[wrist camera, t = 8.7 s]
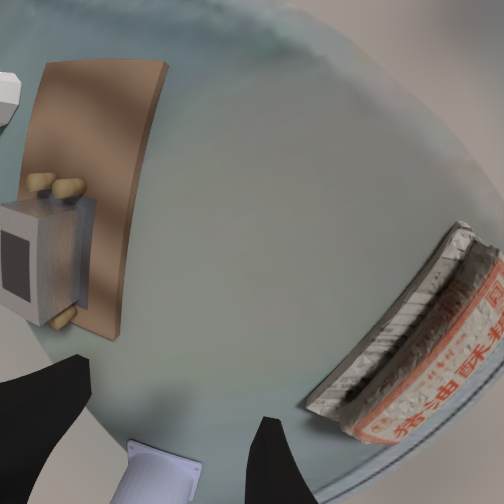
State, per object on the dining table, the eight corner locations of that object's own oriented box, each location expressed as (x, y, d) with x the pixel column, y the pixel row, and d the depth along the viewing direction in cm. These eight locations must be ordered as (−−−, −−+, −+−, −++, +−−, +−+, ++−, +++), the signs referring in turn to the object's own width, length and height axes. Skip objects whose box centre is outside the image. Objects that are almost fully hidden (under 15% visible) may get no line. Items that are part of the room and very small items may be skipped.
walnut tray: (119, 334, 22) (98, 356, 18) (23, 291, 22) (-1, 305, 19) (169, 65, 17) (149, 46, 13) (53, 66, 17) (27, 55, 14)
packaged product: (493, 225, 13) (544, 307, 14) (453, 214, 18) (511, 286, 19) (306, 438, 18) (392, 470, 18) (302, 395, 22) (380, 433, 23)
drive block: (79, 299, 20) (39, 327, 15) (39, 281, 20) (-2, 303, 15) (85, 207, 18) (37, 218, 14) (43, 196, 18) (-4, 204, 14)
